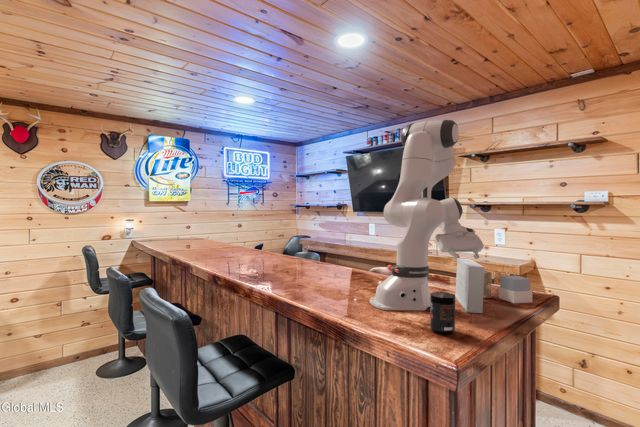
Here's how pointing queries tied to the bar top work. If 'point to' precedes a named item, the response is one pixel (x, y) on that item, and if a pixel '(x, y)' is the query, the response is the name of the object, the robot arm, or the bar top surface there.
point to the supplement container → (442, 313)
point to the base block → (515, 296)
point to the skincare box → (470, 285)
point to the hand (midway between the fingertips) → (467, 258)
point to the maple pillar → (487, 284)
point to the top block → (515, 283)
